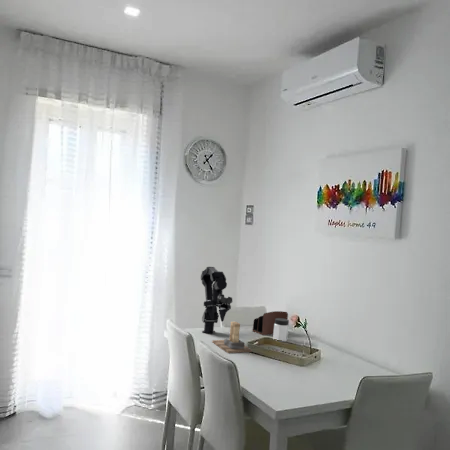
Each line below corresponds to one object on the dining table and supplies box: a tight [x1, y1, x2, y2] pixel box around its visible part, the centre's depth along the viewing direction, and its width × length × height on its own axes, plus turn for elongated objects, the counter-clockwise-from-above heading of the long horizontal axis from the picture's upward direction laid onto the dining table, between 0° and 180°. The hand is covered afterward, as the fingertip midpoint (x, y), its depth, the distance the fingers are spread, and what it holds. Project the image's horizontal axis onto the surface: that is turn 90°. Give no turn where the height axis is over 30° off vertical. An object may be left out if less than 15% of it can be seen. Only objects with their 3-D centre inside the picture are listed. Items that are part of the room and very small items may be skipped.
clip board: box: [211, 338, 253, 354], centre depth 261 cm, size 20×14×4 cm
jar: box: [272, 318, 290, 342], centre depth 287 cm, size 9×8×12 cm
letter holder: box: [252, 310, 289, 336], centre depth 304 cm, size 10×20×14 cm, turn 124°
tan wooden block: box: [228, 321, 241, 343], centre depth 259 cm, size 5×3×12 cm, turn 25°
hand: (217, 320), depth 271 cm, fingers open, 9 cm apart
